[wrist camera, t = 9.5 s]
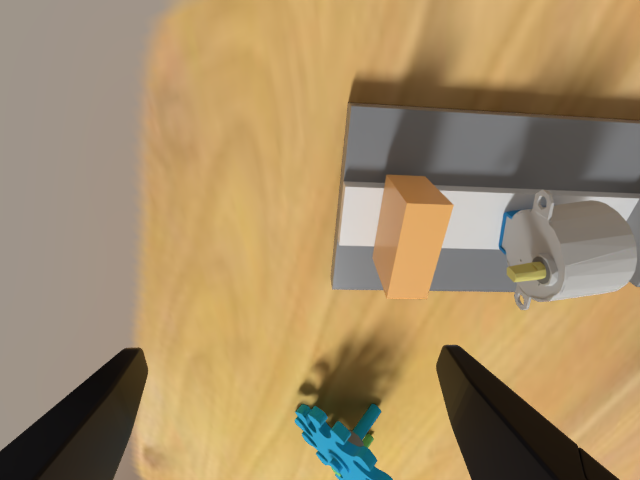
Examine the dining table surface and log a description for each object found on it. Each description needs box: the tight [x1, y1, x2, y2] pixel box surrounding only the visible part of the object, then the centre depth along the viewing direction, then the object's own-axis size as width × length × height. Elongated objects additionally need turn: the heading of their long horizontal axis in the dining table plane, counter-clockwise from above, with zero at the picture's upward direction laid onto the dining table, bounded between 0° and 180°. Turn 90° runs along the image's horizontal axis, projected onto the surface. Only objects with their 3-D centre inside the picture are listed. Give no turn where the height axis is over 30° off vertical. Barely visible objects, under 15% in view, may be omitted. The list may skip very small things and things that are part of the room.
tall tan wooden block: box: [372, 175, 454, 299], centre depth 16 cm, size 2×5×4 cm, turn 176°
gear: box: [295, 404, 393, 480], centre depth 28 cm, size 11×6×10 cm
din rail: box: [331, 103, 640, 292], centre depth 18 cm, size 18×11×4 cm, turn 86°
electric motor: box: [499, 190, 637, 310], centre depth 17 cm, size 7×5×5 cm
